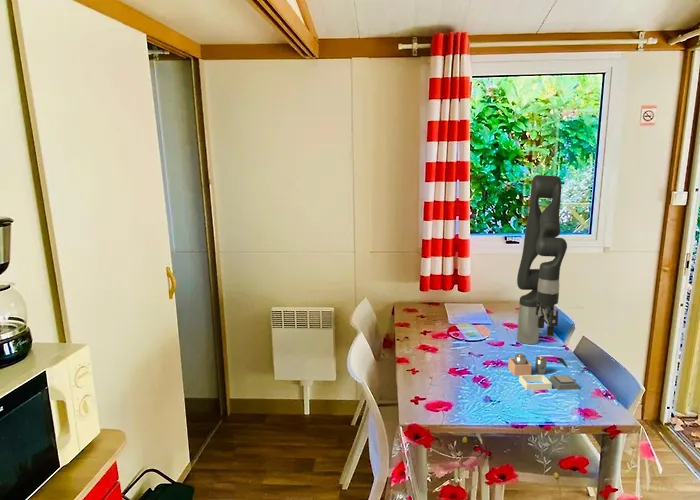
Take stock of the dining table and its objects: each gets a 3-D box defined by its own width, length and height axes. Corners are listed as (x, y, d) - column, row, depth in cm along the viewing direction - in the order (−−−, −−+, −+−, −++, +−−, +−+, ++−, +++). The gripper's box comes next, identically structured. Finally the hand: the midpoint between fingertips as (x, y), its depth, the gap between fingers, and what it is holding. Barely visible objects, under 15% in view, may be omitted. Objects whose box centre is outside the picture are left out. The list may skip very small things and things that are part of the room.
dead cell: (512, 369, 191) (513, 352, 189) (522, 369, 191) (523, 352, 190) (516, 374, 187) (517, 357, 186) (526, 373, 187) (527, 356, 186)
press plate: (554, 378, 180) (555, 376, 180) (566, 378, 181) (567, 375, 180) (560, 384, 176) (561, 381, 176) (573, 384, 176) (573, 381, 176)
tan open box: (508, 370, 192) (508, 358, 191) (523, 369, 193) (524, 357, 192) (514, 377, 186) (515, 365, 185) (530, 377, 186) (531, 364, 185)
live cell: (532, 372, 191) (534, 355, 189) (542, 371, 191) (544, 355, 189) (537, 376, 187) (538, 359, 185) (547, 376, 187) (548, 359, 185)
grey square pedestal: (548, 382, 182) (548, 375, 181) (569, 382, 182) (569, 375, 182) (557, 391, 175) (557, 384, 174) (579, 391, 175) (579, 384, 175)
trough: (518, 383, 182) (519, 375, 181) (542, 382, 182) (543, 374, 182) (526, 392, 175) (526, 384, 174) (551, 391, 176) (552, 383, 175)
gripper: (530, 285, 190) (528, 325, 193) (546, 295, 176) (543, 338, 179) (550, 285, 190) (547, 325, 193) (566, 295, 176) (563, 338, 179)
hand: (545, 331), depth 186 cm, fingers open, 8 cm apart
